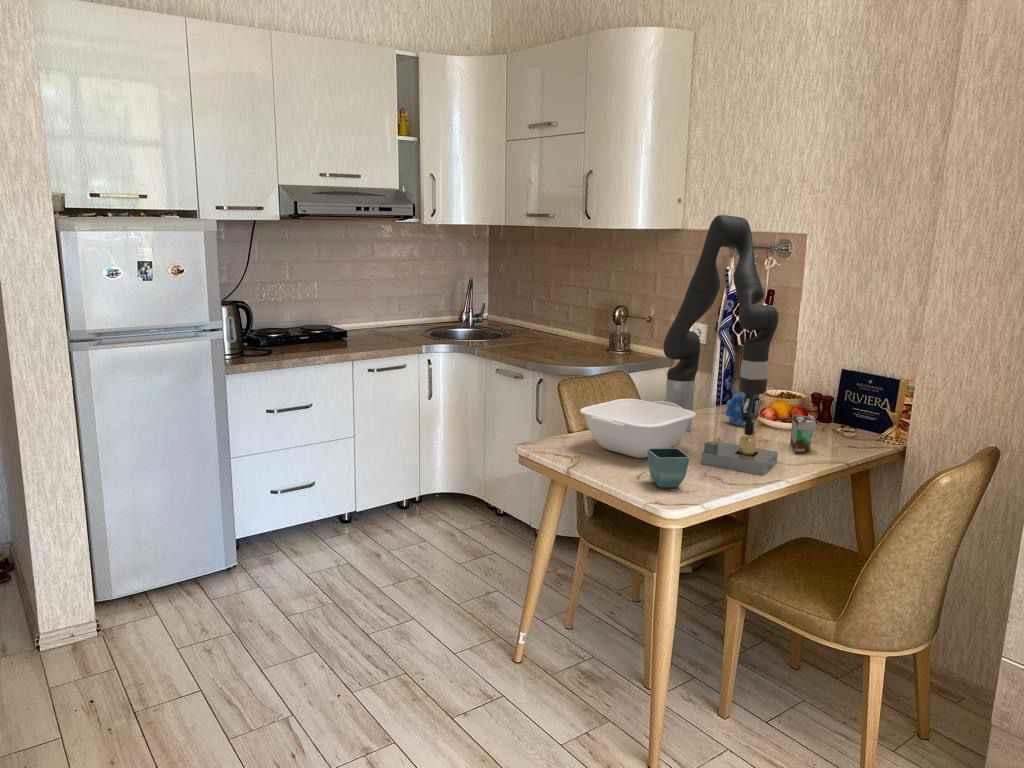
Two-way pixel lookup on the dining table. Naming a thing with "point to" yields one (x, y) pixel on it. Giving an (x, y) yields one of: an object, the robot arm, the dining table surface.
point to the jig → (738, 458)
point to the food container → (801, 433)
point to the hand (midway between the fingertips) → (748, 434)
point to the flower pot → (667, 466)
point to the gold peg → (747, 446)
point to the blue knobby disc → (735, 409)
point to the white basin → (636, 425)
